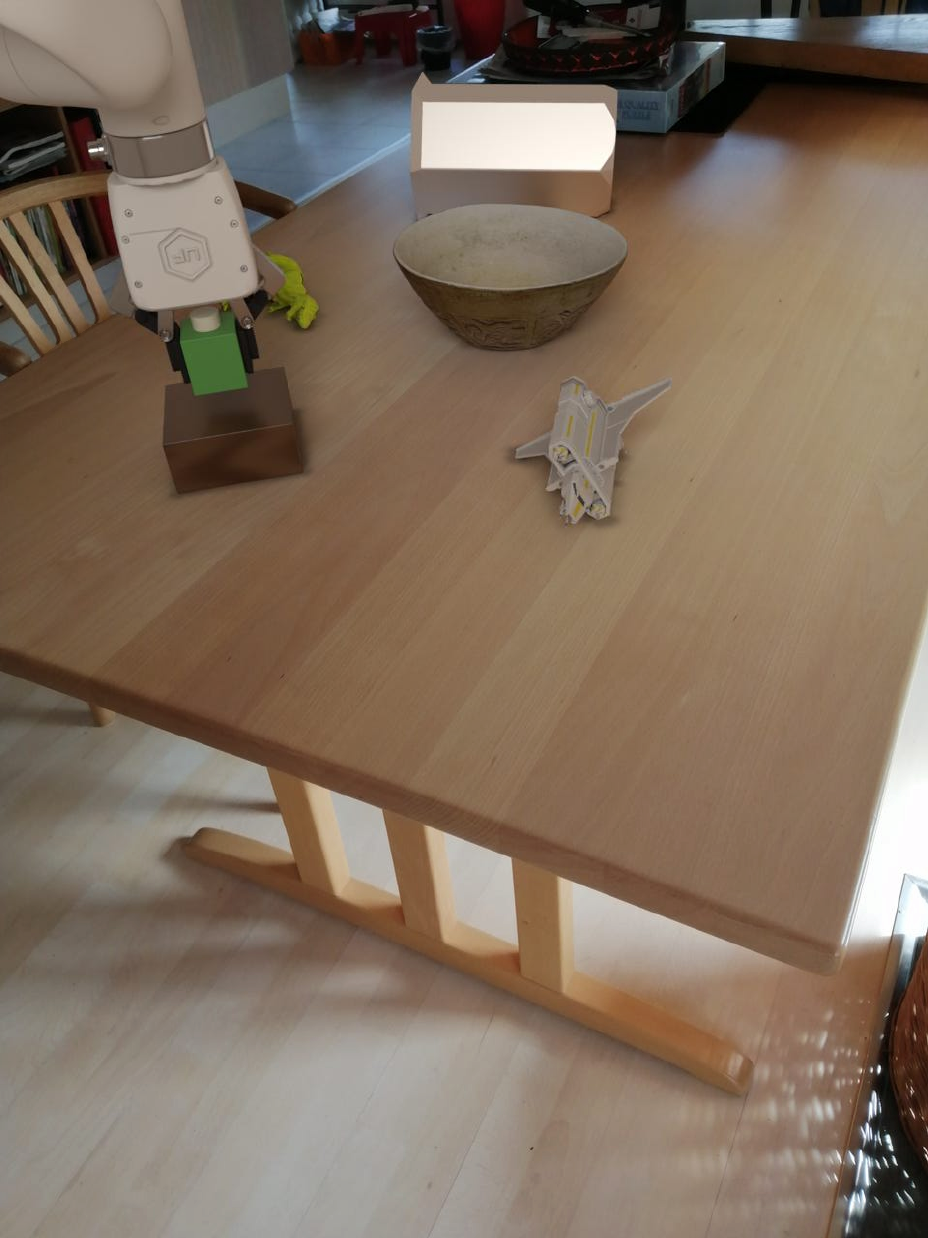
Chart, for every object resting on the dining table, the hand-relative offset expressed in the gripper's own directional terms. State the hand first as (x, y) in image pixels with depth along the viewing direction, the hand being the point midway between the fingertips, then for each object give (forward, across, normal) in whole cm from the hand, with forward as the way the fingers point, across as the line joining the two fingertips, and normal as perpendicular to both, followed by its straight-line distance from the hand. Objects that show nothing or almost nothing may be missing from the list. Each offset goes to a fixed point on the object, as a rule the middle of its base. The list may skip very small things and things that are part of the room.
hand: (218, 369), depth 87 cm
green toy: (+1, 0, 0) cm, 1 cm away
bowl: (+9, +30, +16) cm, 35 cm away
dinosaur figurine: (+9, +6, +34) cm, 35 cm away
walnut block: (+8, 0, 0) cm, 8 cm away
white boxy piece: (+9, +39, +51) cm, 65 cm away
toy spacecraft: (+8, +28, -17) cm, 34 cm away
